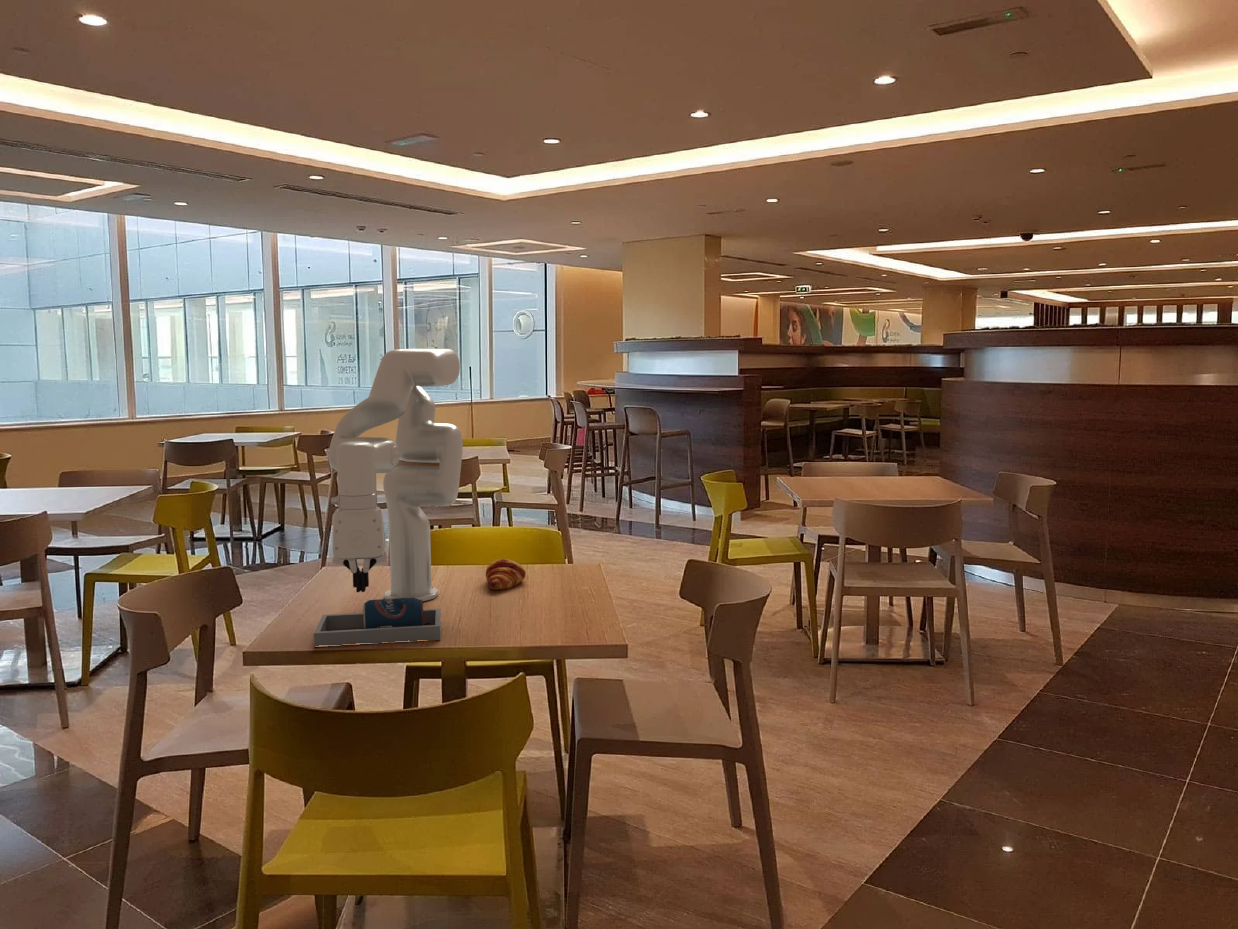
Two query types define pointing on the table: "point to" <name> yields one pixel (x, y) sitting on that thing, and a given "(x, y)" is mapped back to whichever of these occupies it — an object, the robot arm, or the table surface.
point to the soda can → (393, 613)
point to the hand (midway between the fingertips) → (361, 590)
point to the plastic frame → (373, 630)
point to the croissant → (504, 574)
